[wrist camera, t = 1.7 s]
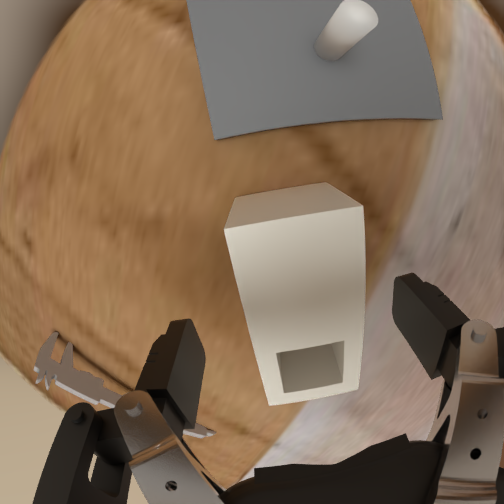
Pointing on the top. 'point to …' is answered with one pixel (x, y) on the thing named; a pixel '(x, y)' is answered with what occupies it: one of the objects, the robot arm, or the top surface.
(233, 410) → the top surface
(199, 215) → the top surface
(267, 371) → the socket block
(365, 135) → the top surface
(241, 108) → the pin plate
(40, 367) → the caliper
